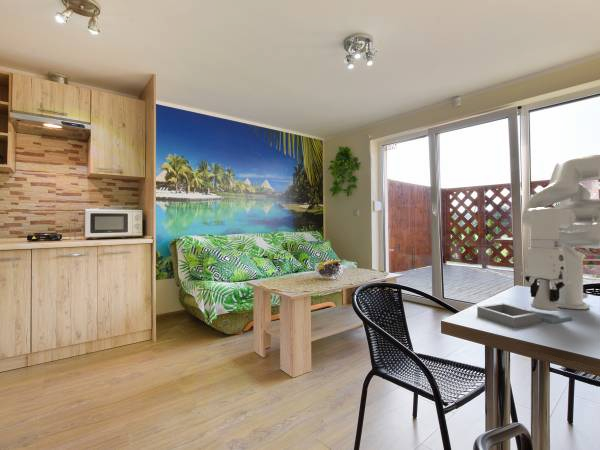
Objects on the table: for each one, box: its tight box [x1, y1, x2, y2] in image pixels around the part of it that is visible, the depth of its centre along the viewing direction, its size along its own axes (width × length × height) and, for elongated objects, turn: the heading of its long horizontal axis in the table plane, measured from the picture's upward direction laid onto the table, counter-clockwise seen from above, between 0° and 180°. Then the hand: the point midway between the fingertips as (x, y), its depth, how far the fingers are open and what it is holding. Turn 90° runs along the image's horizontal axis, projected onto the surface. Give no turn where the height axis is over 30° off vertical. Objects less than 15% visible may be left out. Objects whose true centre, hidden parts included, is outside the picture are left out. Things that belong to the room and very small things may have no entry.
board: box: [529, 308, 573, 324], centre depth 99 cm, size 10×10×1 cm
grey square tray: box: [476, 302, 542, 328], centre depth 98 cm, size 12×12×3 cm
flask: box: [530, 278, 560, 312], centre depth 99 cm, size 7×7×10 cm
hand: (544, 298), depth 99 cm, fingers closed on flask, 5 cm apart
